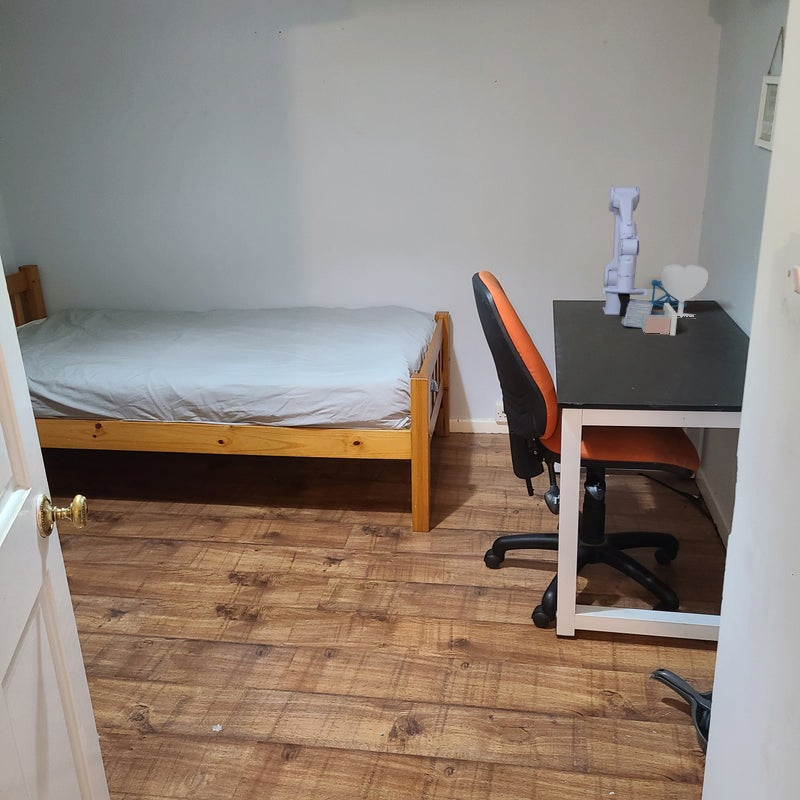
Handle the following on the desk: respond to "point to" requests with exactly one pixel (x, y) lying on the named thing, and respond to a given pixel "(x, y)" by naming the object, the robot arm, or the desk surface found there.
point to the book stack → (660, 321)
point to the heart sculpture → (683, 282)
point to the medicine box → (636, 312)
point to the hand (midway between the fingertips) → (622, 316)
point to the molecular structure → (667, 300)
